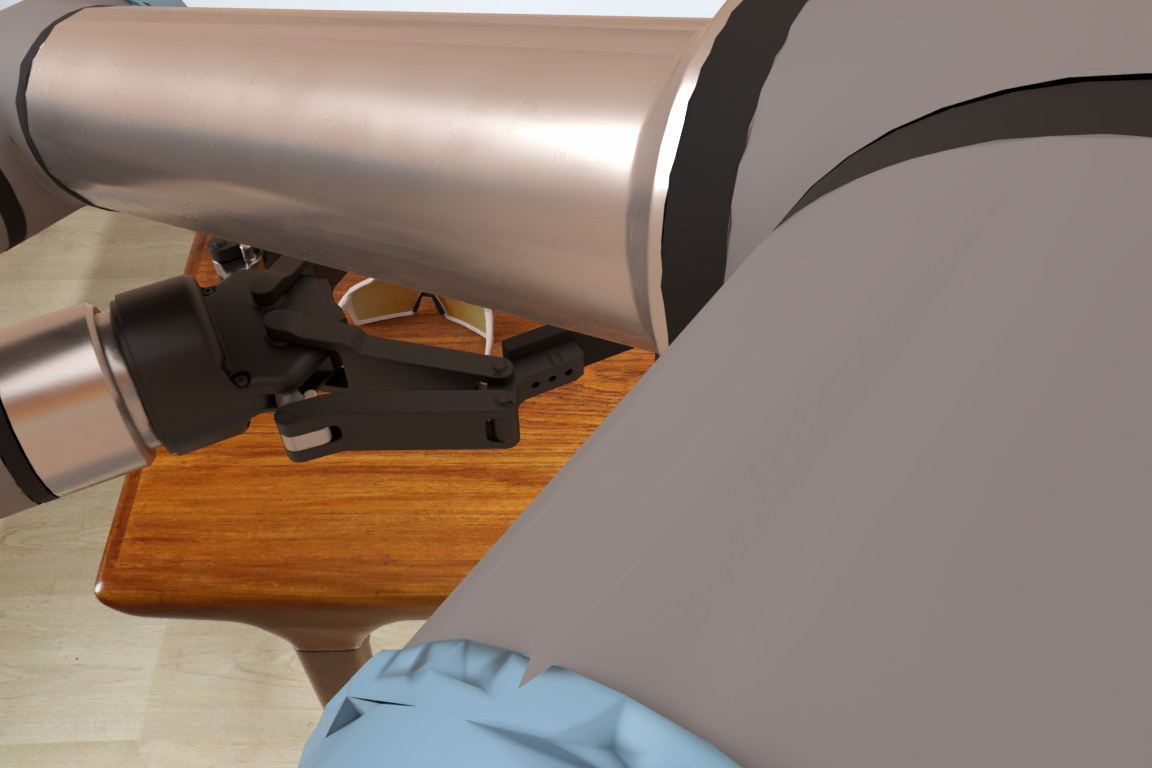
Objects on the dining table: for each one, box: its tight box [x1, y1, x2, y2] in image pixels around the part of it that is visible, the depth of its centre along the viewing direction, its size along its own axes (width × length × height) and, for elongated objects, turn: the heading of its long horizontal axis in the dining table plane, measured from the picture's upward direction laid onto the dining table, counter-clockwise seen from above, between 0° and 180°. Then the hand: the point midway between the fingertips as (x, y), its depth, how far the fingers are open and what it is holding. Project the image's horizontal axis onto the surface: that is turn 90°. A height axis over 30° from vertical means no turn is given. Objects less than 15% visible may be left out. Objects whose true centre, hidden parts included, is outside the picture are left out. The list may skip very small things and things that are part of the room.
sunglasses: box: [317, 277, 495, 394], centre depth 77 cm, size 14×15×5 cm
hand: (569, 238), depth 48 cm, fingers open, 13 cm apart
